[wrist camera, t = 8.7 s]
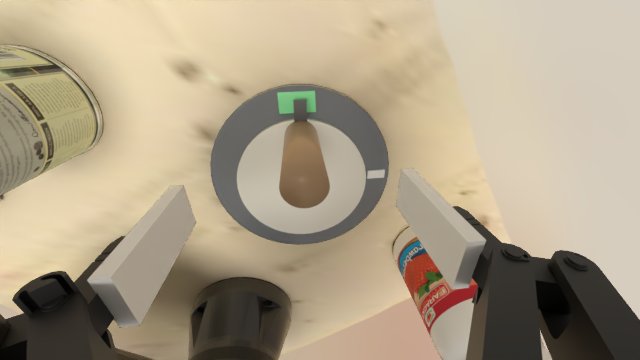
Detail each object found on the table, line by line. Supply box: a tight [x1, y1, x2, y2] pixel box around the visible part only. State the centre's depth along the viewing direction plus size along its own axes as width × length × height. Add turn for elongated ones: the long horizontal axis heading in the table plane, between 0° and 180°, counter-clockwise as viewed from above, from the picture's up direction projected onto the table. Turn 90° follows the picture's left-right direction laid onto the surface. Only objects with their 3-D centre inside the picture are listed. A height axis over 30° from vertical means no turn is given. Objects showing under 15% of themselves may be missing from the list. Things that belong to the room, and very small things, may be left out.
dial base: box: [211, 84, 389, 244], centre depth 29 cm, size 20×20×1 cm
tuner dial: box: [237, 99, 366, 234], centre depth 23 cm, size 16×14×11 cm
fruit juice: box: [393, 227, 552, 360], centre depth 24 cm, size 9×9×28 cm
